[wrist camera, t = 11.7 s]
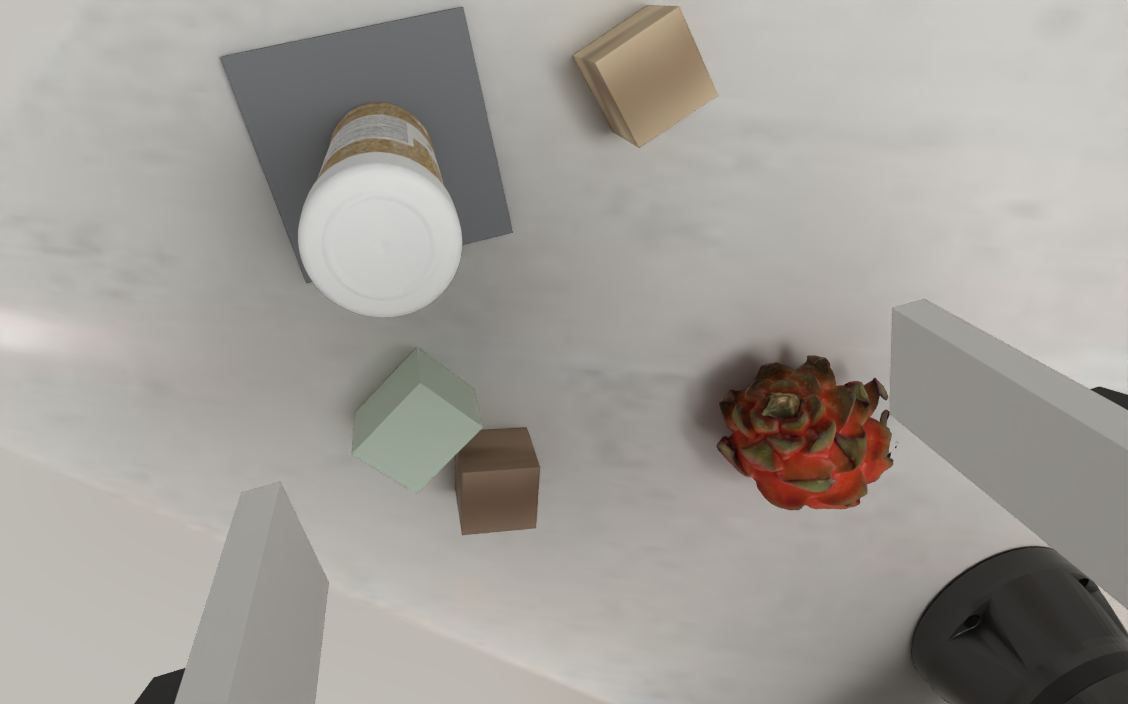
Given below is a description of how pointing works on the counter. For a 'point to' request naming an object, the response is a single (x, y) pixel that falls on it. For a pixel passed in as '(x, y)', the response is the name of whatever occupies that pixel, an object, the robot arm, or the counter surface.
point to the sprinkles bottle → (380, 216)
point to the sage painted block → (416, 421)
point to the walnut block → (497, 482)
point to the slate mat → (372, 75)
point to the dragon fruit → (807, 436)
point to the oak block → (646, 73)
